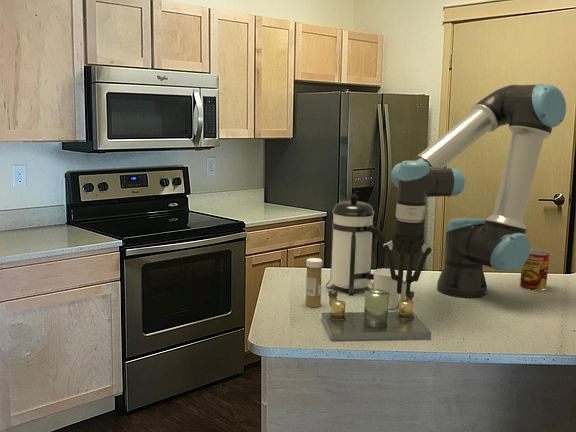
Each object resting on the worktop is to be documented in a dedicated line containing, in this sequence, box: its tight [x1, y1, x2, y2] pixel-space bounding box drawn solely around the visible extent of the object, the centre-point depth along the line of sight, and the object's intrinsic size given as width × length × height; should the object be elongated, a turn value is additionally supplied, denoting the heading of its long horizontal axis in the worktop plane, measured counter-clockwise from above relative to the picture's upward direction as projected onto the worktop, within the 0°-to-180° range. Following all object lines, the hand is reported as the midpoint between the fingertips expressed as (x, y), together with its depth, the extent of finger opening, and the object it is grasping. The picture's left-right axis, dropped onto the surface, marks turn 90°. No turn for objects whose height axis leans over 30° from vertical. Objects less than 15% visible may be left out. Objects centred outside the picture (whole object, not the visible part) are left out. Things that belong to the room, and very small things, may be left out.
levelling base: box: [321, 288, 432, 342], centre depth 162 cm, size 25×15×11 cm, turn 96°
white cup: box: [372, 268, 400, 310], centre depth 181 cm, size 8×8×10 cm
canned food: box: [519, 248, 550, 291], centre depth 203 cm, size 8×8×12 cm
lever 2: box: [398, 290, 415, 319], centre depth 169 cm, size 4×11×4 cm, turn 163°
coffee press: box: [325, 193, 386, 296], centre depth 195 cm, size 17×16×30 cm
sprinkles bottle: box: [305, 257, 323, 308], centre depth 180 cm, size 5×5×14 cm
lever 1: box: [327, 290, 346, 319], centre depth 168 cm, size 4×11×4 cm, turn 6°
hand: (402, 305), depth 171 cm, fingers closed
